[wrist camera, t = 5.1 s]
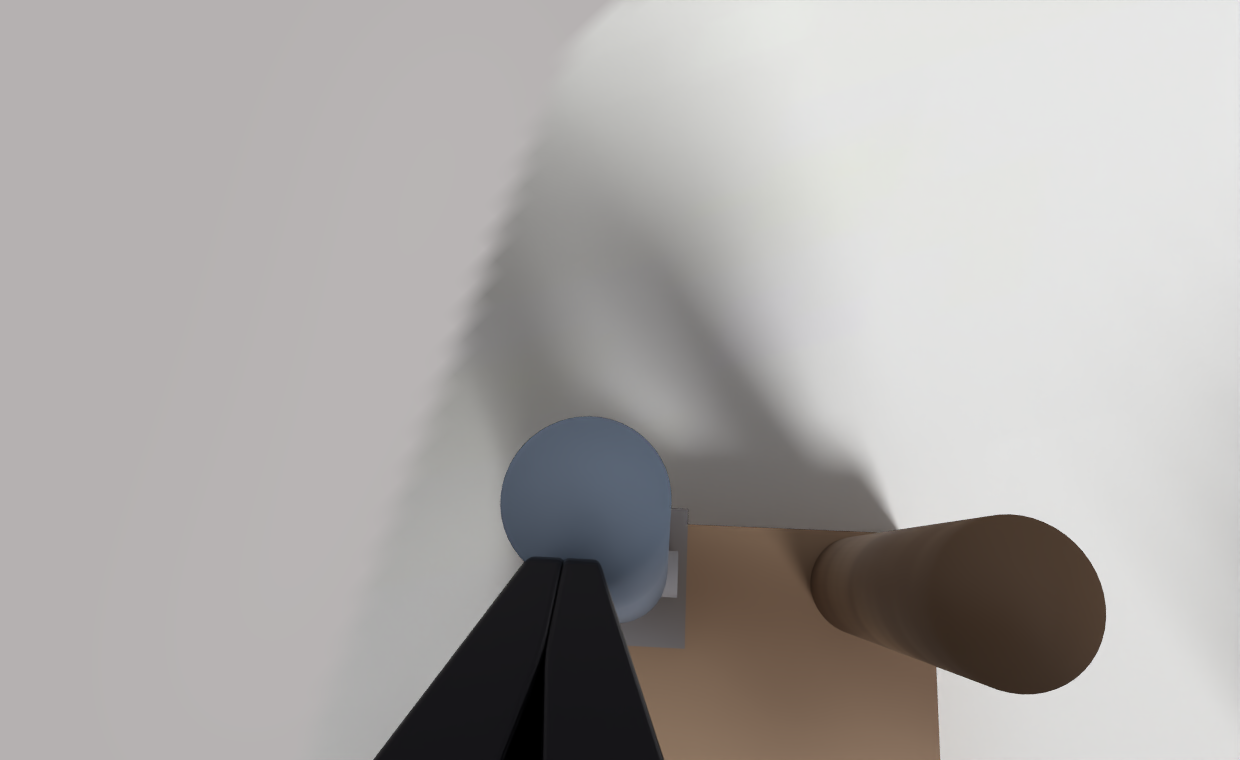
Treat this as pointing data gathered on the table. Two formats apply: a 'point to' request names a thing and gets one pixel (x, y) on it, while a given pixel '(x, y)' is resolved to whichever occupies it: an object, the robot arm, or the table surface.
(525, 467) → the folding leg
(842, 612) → the stool
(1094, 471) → the table surface
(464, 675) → the robot arm
